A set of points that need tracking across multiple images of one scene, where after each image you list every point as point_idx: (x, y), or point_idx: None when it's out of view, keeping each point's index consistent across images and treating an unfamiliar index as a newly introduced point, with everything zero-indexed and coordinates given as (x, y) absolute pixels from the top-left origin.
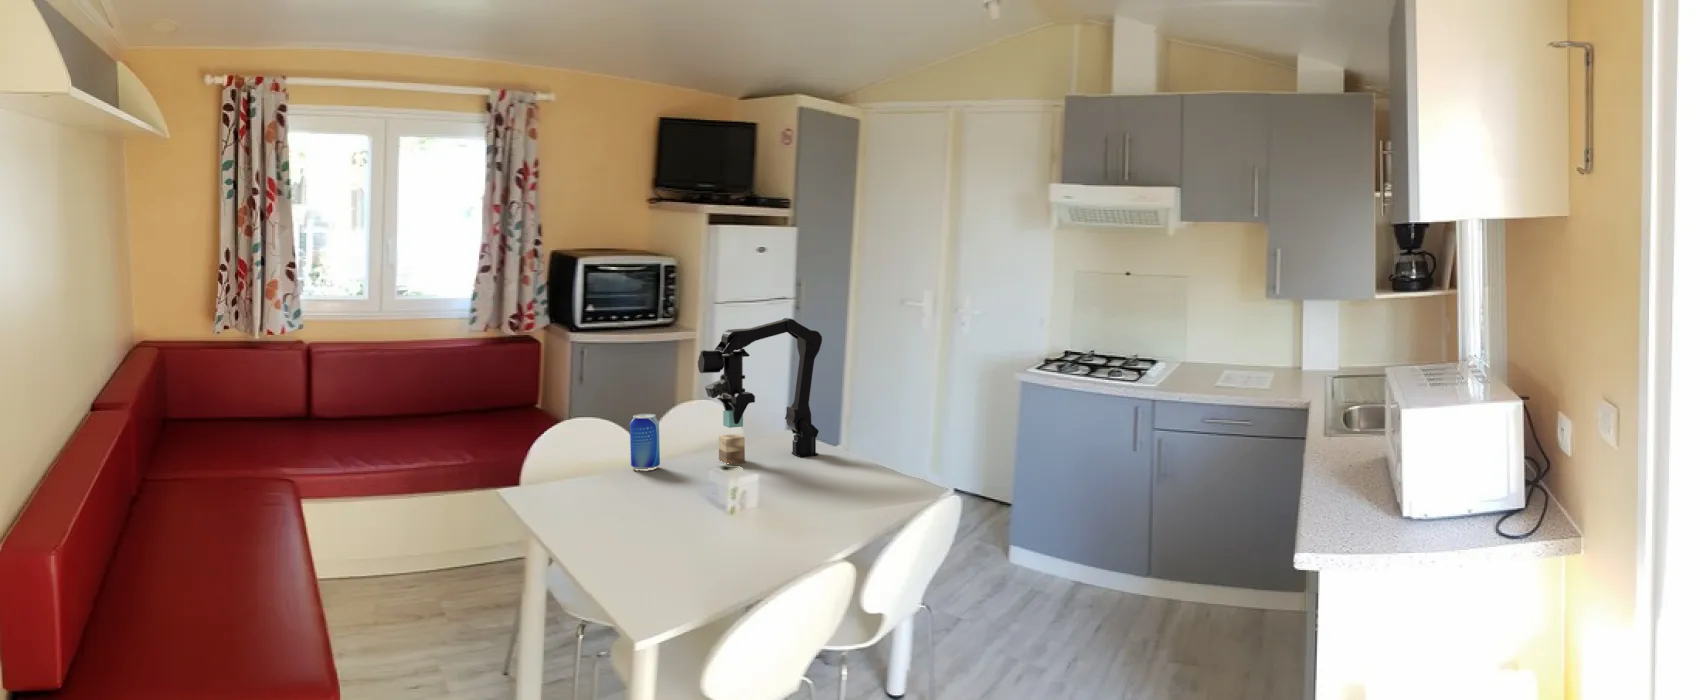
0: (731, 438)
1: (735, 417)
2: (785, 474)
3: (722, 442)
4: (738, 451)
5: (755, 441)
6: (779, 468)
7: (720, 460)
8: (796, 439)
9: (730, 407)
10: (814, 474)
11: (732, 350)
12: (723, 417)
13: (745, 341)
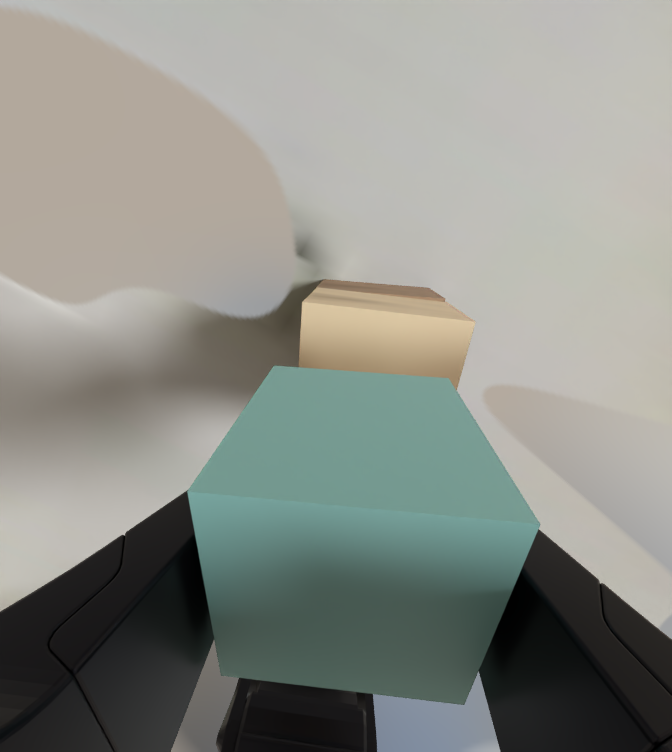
0: (311, 356)
1: (183, 500)
2: (49, 403)
3: (385, 304)
4: None
5: (641, 583)
6: (155, 434)
7: (407, 286)
8: None
9: (541, 713)
10: (27, 478)
11: None
12: (472, 431)
13: None
